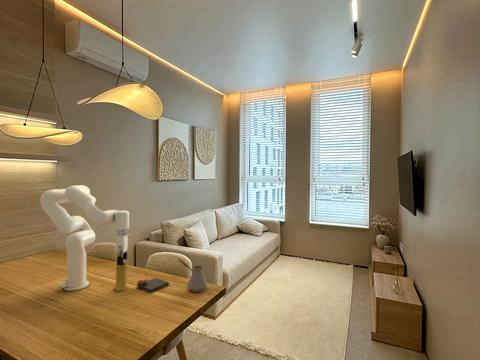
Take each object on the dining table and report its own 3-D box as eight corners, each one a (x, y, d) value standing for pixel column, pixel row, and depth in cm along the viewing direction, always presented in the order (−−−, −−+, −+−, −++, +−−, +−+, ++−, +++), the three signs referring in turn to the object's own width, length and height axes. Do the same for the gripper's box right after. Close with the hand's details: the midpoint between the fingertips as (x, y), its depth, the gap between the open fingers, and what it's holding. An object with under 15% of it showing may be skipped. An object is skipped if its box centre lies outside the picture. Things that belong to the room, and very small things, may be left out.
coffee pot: (211, 288, 154) (211, 263, 154) (197, 295, 144) (198, 268, 144) (185, 280, 165) (185, 256, 165) (171, 286, 156) (171, 261, 156)
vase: (117, 286, 154) (117, 262, 154) (128, 286, 154) (128, 262, 154) (113, 291, 148) (113, 266, 148) (124, 291, 148) (125, 266, 148)
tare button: (142, 283, 152) (142, 280, 152) (139, 282, 153) (139, 279, 153) (145, 281, 154) (145, 279, 154) (143, 280, 155) (143, 278, 155)
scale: (149, 293, 146) (149, 287, 146) (135, 287, 153) (135, 281, 153) (168, 285, 157) (168, 279, 157) (154, 280, 164) (154, 274, 164)
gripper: (118, 229, 158) (118, 257, 159) (110, 235, 141) (110, 267, 142) (132, 229, 160) (132, 257, 160) (125, 235, 143) (125, 266, 143)
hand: (122, 261), depth 151 cm, fingers open, 9 cm apart
